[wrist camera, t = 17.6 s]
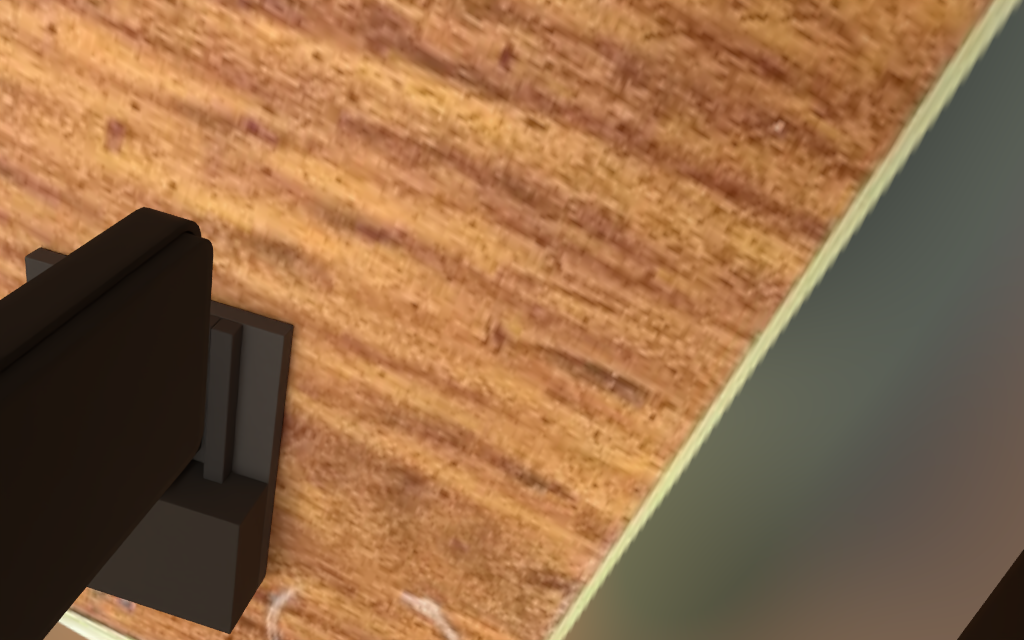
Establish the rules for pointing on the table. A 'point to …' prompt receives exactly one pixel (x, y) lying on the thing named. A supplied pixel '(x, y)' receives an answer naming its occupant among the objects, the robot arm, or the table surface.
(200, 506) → the pad base
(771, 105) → the table surface
